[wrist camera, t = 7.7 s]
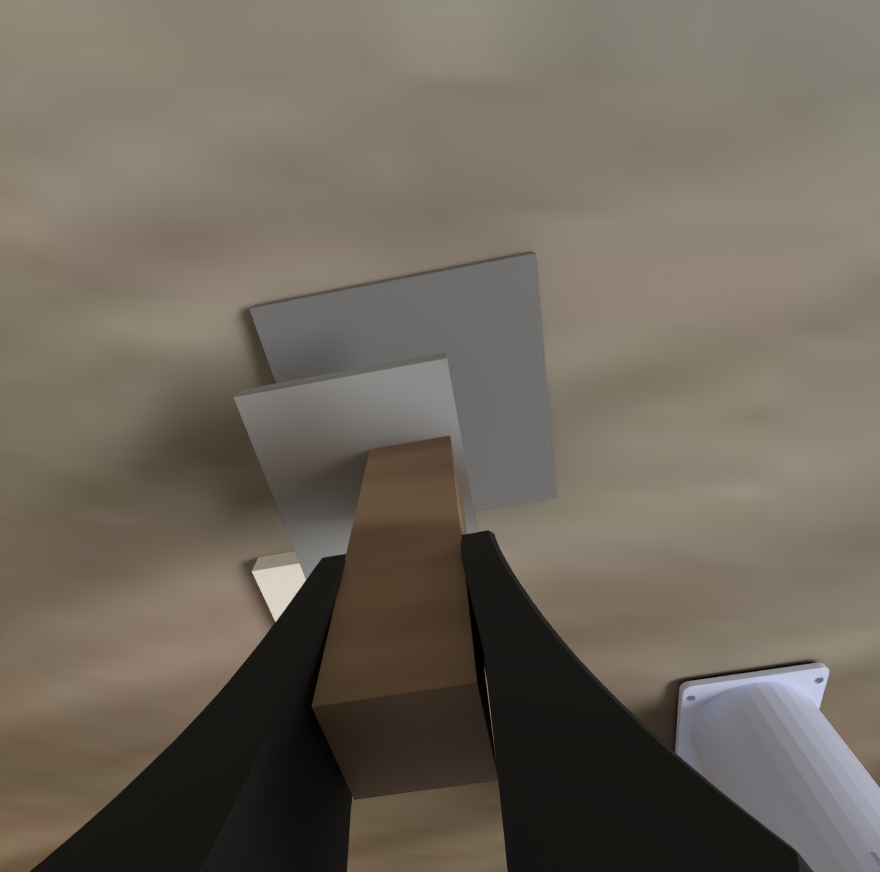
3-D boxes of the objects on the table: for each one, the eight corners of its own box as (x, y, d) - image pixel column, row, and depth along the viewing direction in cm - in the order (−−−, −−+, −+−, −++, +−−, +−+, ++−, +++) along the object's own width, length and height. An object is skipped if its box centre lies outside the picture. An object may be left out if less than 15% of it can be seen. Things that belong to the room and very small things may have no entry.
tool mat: (553, 490, 21) (556, 497, 20) (332, 527, 21) (329, 535, 21) (532, 251, 17) (535, 253, 16) (254, 305, 17) (249, 308, 17)
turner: (480, 546, 16) (530, 850, 9) (312, 574, 17) (215, 889, 9) (446, 352, 13) (474, 551, 6) (240, 389, 14) (4, 627, 6)
